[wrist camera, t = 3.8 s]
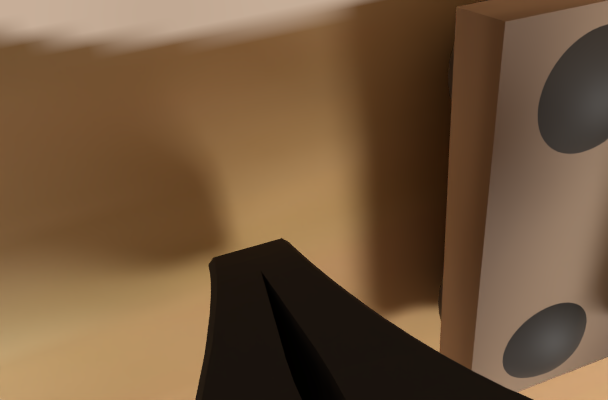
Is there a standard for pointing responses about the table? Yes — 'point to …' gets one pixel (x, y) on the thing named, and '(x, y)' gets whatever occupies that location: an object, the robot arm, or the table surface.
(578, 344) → the square caster platform
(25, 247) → the table surface
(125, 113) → the table surface
